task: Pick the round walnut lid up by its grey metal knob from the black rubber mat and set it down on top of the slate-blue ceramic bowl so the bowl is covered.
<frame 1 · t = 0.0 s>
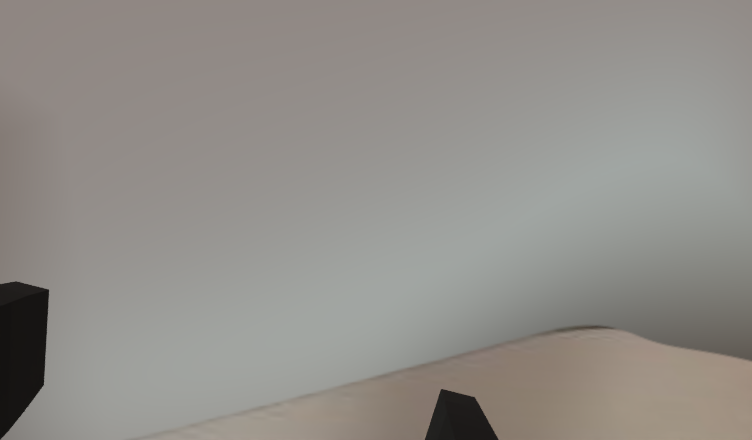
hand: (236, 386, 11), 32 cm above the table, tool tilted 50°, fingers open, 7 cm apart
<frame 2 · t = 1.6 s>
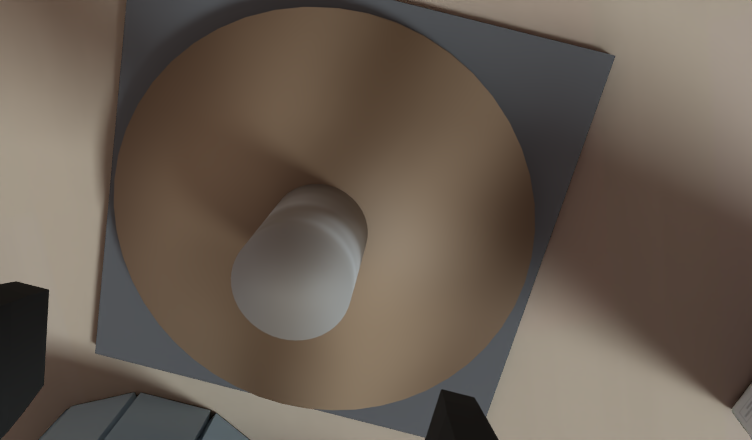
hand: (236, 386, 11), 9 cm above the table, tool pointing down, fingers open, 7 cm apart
mat: (325, 218, 20), on the table
lid: (323, 222, 19), resting on mat
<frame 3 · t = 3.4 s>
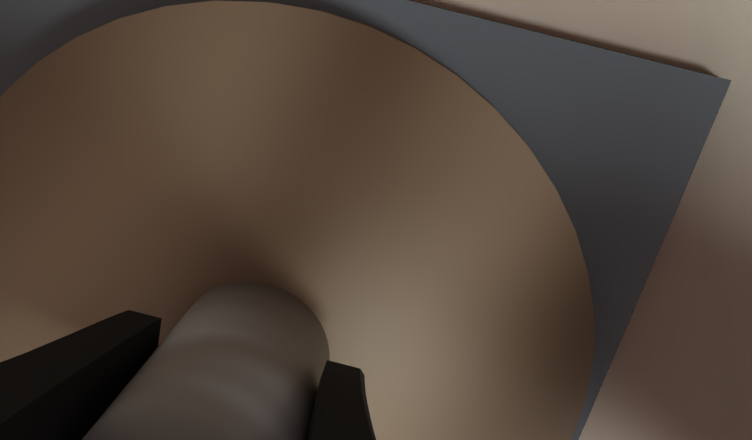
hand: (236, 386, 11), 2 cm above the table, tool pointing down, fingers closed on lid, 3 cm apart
mat: (270, 321, 13), on the table
lid: (264, 330, 13), resting on mat, touching gripper
when the fingers open (7 cm above the table, at t = 6.7 s): lid drops 1 cm, resting on bowl.
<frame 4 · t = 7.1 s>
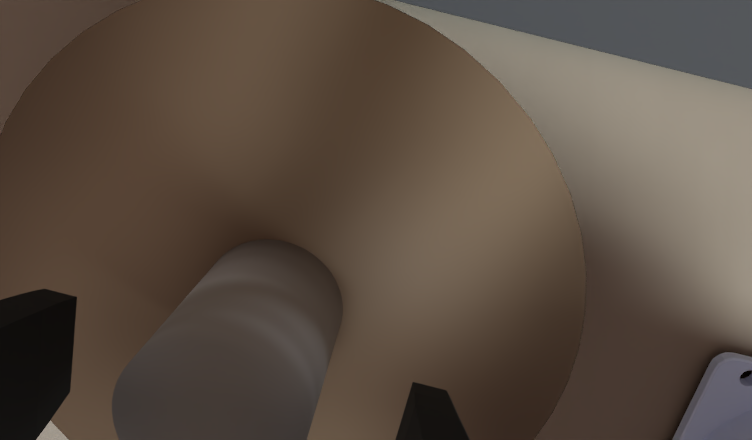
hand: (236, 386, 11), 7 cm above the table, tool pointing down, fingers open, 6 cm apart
lid: (282, 288, 14), point 4 cm above the table, touching bowl
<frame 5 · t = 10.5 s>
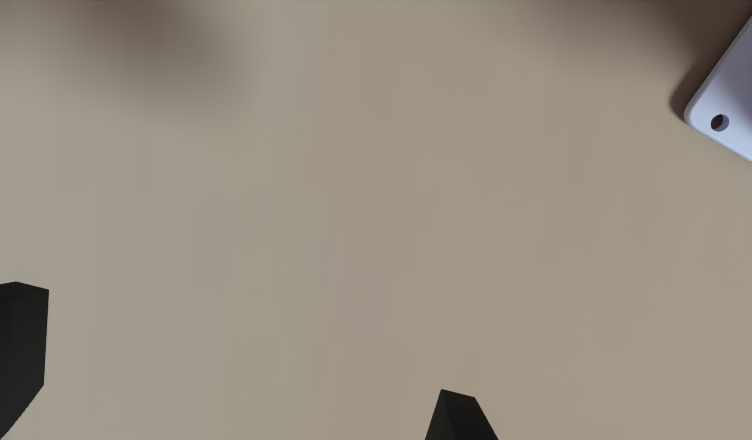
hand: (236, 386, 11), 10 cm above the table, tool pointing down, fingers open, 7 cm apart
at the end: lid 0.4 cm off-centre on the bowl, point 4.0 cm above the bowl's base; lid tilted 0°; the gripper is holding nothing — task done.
